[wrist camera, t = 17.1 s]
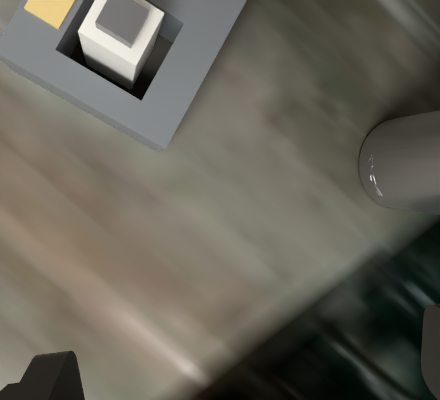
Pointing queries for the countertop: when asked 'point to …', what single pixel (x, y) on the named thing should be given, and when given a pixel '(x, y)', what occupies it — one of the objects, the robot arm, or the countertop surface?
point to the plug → (120, 37)
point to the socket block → (106, 91)
